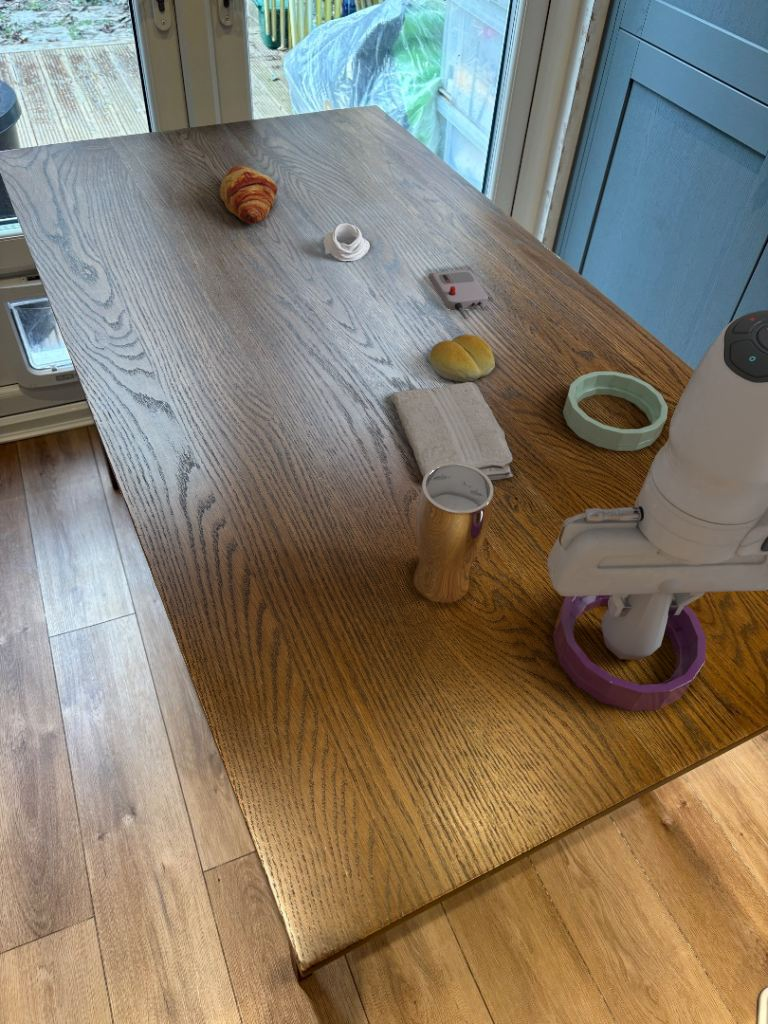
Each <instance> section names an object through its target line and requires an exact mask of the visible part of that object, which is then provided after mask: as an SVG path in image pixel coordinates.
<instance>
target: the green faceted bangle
mask: <svg viewBox="0 0 768 1024" xmlns="http://www.w3.org/2000/svg"><path fill="white" fill-rule="evenodd" d="M598 395H599V396H612V397H617V398H620V399H624V400H626V401H627V402H630V403H632V404H634V405H636V406H637V407H638V408H639V409H640V410H641V411H642V412H643V413H644V414H645V415H646V417H647V419H648V421H649V425H647V426H643V427H641V428H618V427H615V426H610V425H606V424H604V423H601V422H599V421H598V420H597V419H594V418H592V417H590V416H588V414H587V413H586V412H585V411H583V410H582V408H580V406H579V404H578V403H580V402H581V401H582V400H583V399H585V398H589V397H592V396H598ZM668 411H669V407H668V404H667V402H666V400H665V399H664V397H663V395H662V394H661V392H659V391H658V390H657V389H655V387H653V385H651V384H650V383H649V382H646V381H645V380H642V379H640V378H637V377H636V376H633V375H631V374H626V373H622V372H618V371H612V370H611V371H605V370H604V371H603V370H602V371H593V372H592V371H591V372H589V373H585V374H583V375H580V376H578V377H577V378H576V379H575V380H574V381H572V383H570V385H569V389H568V392H567V395H566V399H565V402H564V406H563V410H562V415H563V417H564V420H565V422H566V425H567V426H568V427H569V428H570V429H571V431H573V432H574V433H575V434H576V435H577V436H578V437H579V438H581V439H583V440H584V441H585V442H588V443H590V444H592V445H594V446H596V447H599V448H603V449H608V450H611V451H616V452H622V451H623V452H625V451H627V452H630V451H631V452H632V451H638V450H641V449H644V448H647V447H650V446H651V445H652V444H654V442H655V441H656V440H657V439H658V438H659V437H660V435H661V433H662V431H663V428H664V426H665V423H666V421H667V419H668Z"/></svg>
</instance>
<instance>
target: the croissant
mask: <svg viewBox="0 0 768 1024" xmlns="http://www.w3.org/2000/svg"><path fill="white" fill-rule="evenodd" d="M277 193H278V186H277V184H276V183H275V181H274V180H273V179H272V178H271V177H270V176H269V175H267V174H265V173H262V172H259V171H257V170H256V169H255V168H254V169H253V168H252V167H249V166H245V165H237V166H231V167H230V168H229V169H228V171H227V172H226V173H225V176H224V177H223V178H222V180H221V184H220V187H219V197H220V199H221V200H222V201H223V202H224V206H225V207H226V209H227V211H229V212H230V213H231V214H234V216H236V217H237V218H239V220H241V221H242V222H244V223H245V224H248V225H254V224H257V223H259V222H261V221H263V220H266V219H267V217H268V215H269V213H270V211H272V209H273V206H274V202H275V198H276V196H277Z"/></svg>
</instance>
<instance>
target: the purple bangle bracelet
mask: <svg viewBox="0 0 768 1024" xmlns="http://www.w3.org/2000/svg"><path fill="white" fill-rule="evenodd" d="M610 596H611V595H599V596H569V597H567V596H564V598H563V601H562V604H561V607H560V609H559V611H558V615H557V617H556V621H555V624H554V625H555V627H554V630H553V636H552V641H553V645H554V648H555V652H556V655H557V660H558V662H559V665H561V667H562V669H563V670H564V671H565V673H566V674H567V675H568V677H569V678H570V680H572V681H573V683H574V684H575V685H576V686H577V687H579V688H580V690H582V691H584V692H585V693H587V694H589V695H590V696H591V697H592V698H594V699H596V700H597V701H598V702H600V703H603V704H605V705H609V706H612V707H616V708H618V709H622V710H625V711H629V712H640V711H643V712H644V711H658V710H661V709H663V708H665V707H667V706H669V705H671V704H673V703H675V702H677V701H679V700H680V699H682V697H683V695H684V694H685V692H686V691H687V690H688V688H689V687H690V685H691V684H692V683H693V682H694V680H695V678H696V676H697V675H698V674H699V672H700V670H701V668H702V667H703V666H704V664H705V663H706V651H707V650H706V649H707V637H706V634H705V632H704V630H703V627H702V625H701V623H700V620H699V618H698V616H697V614H696V613H695V612H694V611H693V610H692V609H691V607H690V606H689V604H688V605H686V606H684V608H683V609H682V611H681V613H680V614H679V615H668V619H667V623H666V627H665V632H664V634H665V635H666V636H667V637H668V639H669V641H670V644H671V646H672V649H673V651H674V654H675V663H674V672H673V673H672V675H671V676H670V678H669V679H666V680H665V681H662V682H661V683H651V684H649V683H648V684H639V683H635V682H632V681H629V680H625V679H622V678H619V677H616V676H613V675H612V674H610V673H608V672H607V671H606V670H604V669H603V668H601V667H600V666H598V665H597V664H596V663H594V662H593V661H591V660H590V659H589V657H588V656H587V655H586V653H585V652H584V651H583V650H582V648H581V647H580V646H579V644H578V643H577V642H576V639H575V634H574V631H575V626H576V622H577V621H578V620H579V619H580V617H581V616H582V615H583V614H584V613H586V612H589V611H591V610H593V609H596V608H598V607H608V600H609V598H610Z"/></svg>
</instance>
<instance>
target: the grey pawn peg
mask: <svg viewBox="0 0 768 1024" xmlns="http://www.w3.org/2000/svg"><path fill="white" fill-rule="evenodd" d="M682 583H683V580H679V579H670V580H665V581H664V582H662V583H661V584H660V585H659V586H658V590H659V591H660V592H662V593H665V594H632V595H628V596H627V602H628V603H629V604H630V605H631V606H632V607H633V608H632V609H631V610H630V611H629V613H628V614H627V615H626V616H624V617H612V616H611V613H610V610H609V607H608V608H607V609H606V611H605V612H604V614H603V617H602V621H601V623H600V628H601V632H602V636H603V642H604V645H605V648H606V649H607V650H609V651H610V652H611V653H612V654H614V655H615V656H616V657H617V658H618V659H619V660H630V661H631V660H632V661H634V660H637V661H639V660H641V659H645V658H647V657H649V656H651V655H653V654H654V652H656V651H657V650H658V649H659V648H660V647H661V646H662V641H663V639H664V635H665V627H666V623H667V619H668V611H669V606H670V604H671V602H672V598H673V594H674V593H670V592H676V591H677V590H679V588H680V587H681V586H682Z"/></svg>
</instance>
